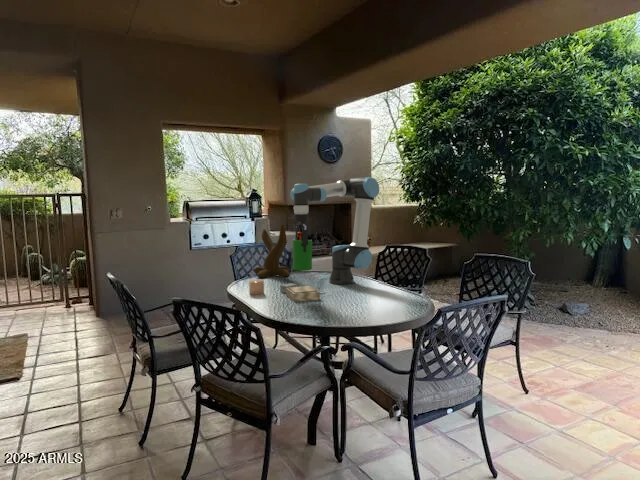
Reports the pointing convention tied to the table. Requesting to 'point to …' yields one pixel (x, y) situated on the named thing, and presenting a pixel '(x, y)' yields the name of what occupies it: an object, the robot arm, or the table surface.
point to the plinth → (302, 293)
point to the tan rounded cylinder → (256, 287)
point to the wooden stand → (273, 256)
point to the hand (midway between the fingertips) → (301, 257)
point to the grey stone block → (283, 287)
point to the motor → (302, 255)
